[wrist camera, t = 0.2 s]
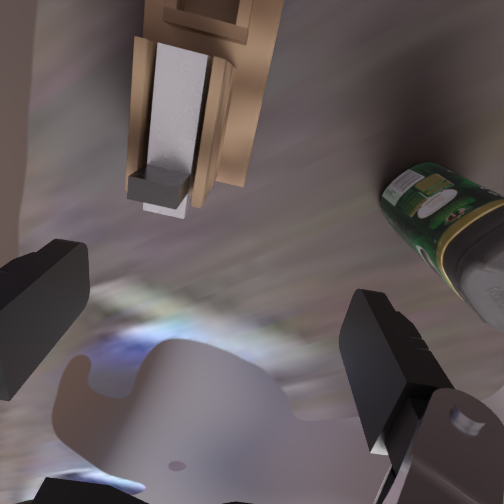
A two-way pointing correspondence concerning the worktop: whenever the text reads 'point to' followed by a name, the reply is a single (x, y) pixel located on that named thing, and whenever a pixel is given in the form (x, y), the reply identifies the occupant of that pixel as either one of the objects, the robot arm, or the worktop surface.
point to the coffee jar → (453, 233)
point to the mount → (219, 80)
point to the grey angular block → (172, 132)
